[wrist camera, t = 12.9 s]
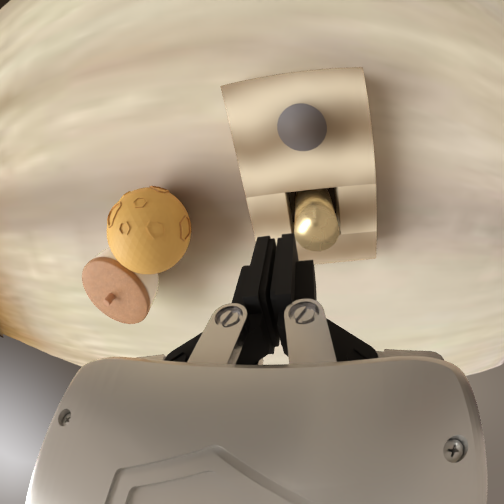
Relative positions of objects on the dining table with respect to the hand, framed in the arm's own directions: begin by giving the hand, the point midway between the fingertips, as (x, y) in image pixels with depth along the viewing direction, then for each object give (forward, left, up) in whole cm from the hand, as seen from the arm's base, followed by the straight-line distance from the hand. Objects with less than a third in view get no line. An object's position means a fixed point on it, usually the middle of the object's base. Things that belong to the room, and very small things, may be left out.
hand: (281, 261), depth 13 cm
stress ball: (+3, -16, -19) cm, 25 cm away
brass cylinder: (+4, +2, -19) cm, 20 cm away
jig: (0, +2, -19) cm, 19 cm away
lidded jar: (+10, -24, -19) cm, 33 cm away
